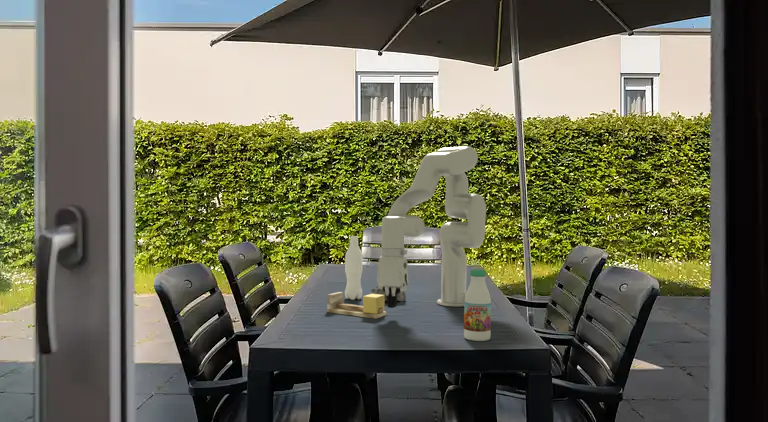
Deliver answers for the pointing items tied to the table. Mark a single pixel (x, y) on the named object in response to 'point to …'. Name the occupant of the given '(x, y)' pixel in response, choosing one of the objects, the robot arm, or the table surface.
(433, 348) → the table surface
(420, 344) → the table surface
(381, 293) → the mineral rock
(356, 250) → the white bottle
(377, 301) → the block
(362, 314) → the rail
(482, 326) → the milk bottle
